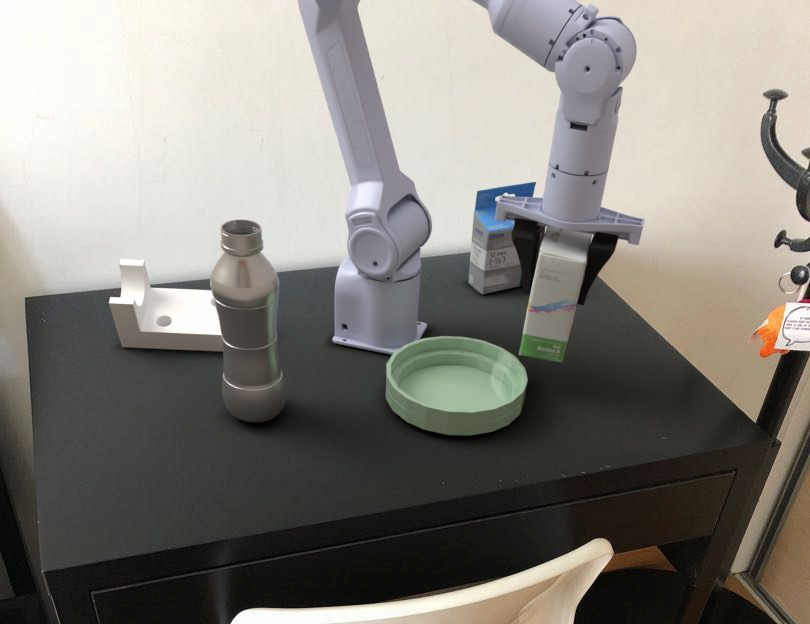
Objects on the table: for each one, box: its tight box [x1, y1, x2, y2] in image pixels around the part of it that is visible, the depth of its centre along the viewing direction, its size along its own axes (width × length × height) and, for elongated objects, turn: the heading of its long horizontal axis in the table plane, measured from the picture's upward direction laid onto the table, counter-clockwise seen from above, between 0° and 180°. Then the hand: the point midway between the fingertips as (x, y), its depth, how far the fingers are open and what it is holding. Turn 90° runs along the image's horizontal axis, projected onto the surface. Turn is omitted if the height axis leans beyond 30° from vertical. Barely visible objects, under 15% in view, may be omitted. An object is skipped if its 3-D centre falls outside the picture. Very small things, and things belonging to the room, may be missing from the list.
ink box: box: [518, 227, 593, 363], centre depth 95 cm, size 9×5×12 cm, turn 167°
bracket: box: [108, 258, 223, 352], centre depth 103 cm, size 13×7×8 cm, turn 90°
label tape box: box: [467, 181, 547, 295], centre depth 115 cm, size 9×4×12 cm, turn 118°
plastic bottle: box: [209, 219, 287, 423], centre depth 88 cm, size 6×7×20 cm
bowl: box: [385, 335, 529, 436], centre depth 97 cm, size 15×15×4 cm
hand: (555, 295), depth 95 cm, fingers closed on ink box, 5 cm apart
